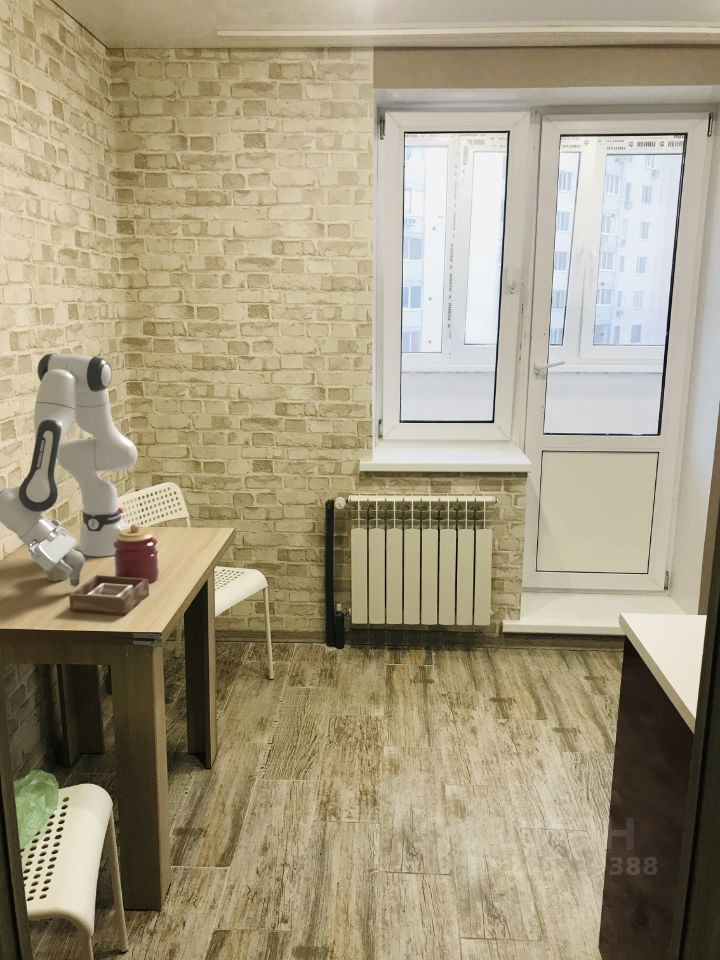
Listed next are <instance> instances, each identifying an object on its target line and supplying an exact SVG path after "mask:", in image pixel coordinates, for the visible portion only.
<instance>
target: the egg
mask: <svg viewBox="0 0 720 960" xmlns="http://www.w3.org/2000/svg"><path fill="white" fill-rule="evenodd" d="M85 560H86V559H85V555H84V554H82V553H81V551H79V550H77V549H76V550H75V549H74V550H72V551H69V552H67V554H66V555H65V556H64V557H63V561H64V563H65V564H67V565H71V566H72V567H73V568H74V570H73V571H72V572H71V573H70V574H68V575H69V578H68V579H69V583H70V586H71V587H74V588H75V587H78V586H79V585H80V582H81V581H80V578H81V573H82V569H83V567H84V566H85V565H84V564H85Z"/></svg>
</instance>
